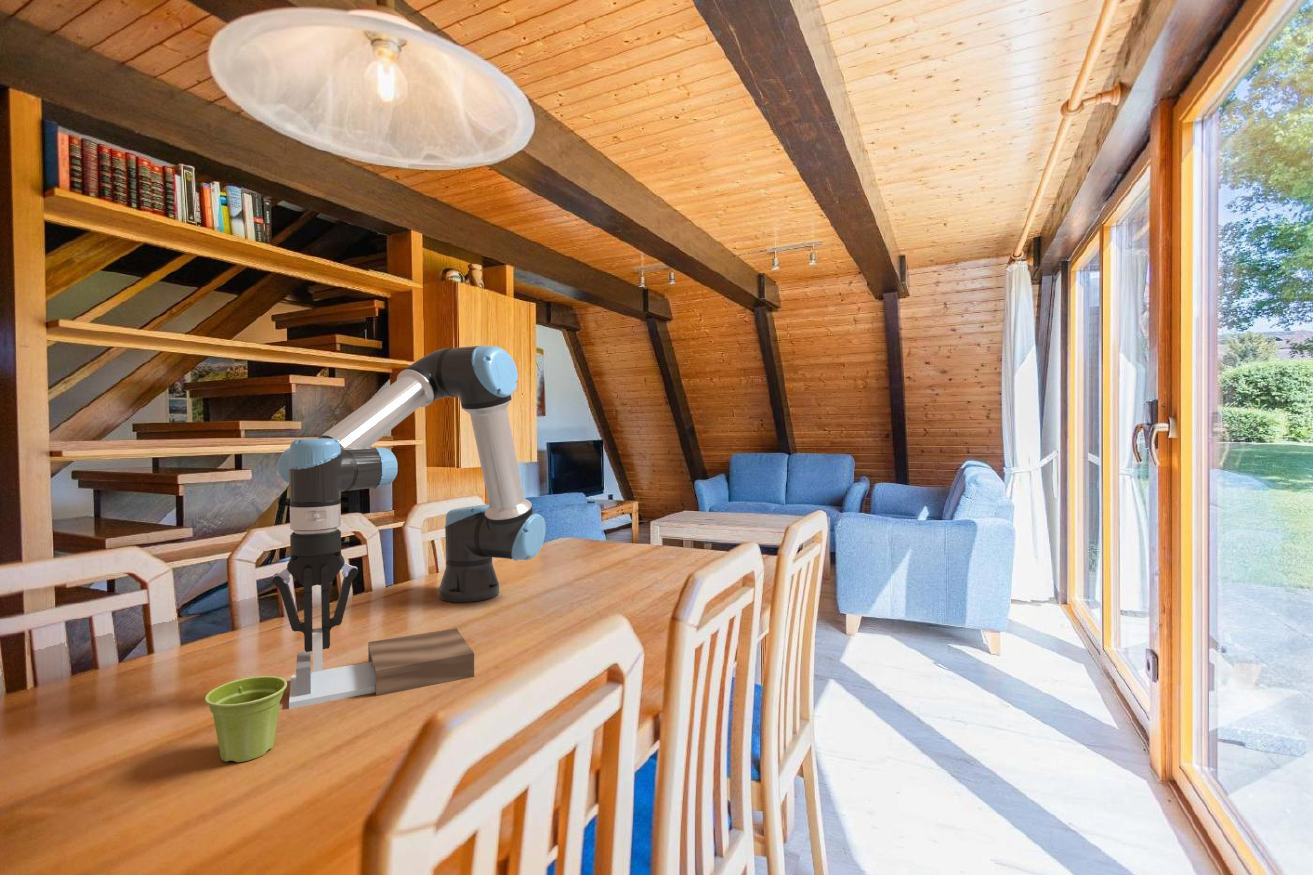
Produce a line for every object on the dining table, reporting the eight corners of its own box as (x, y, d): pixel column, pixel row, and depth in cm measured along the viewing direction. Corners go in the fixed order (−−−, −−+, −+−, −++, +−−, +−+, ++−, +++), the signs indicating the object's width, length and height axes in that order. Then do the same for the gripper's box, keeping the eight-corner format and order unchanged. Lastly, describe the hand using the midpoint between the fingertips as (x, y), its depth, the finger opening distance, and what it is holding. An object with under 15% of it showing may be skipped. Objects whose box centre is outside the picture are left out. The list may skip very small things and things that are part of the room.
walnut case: (368, 664, 116) (368, 642, 116) (456, 649, 124) (456, 628, 124) (376, 695, 103) (375, 670, 103) (474, 676, 111) (474, 653, 111)
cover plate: (291, 683, 109) (290, 649, 109) (434, 658, 121) (434, 627, 120) (289, 712, 98) (288, 674, 98) (446, 681, 110) (446, 647, 110)
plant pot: (277, 727, 92) (276, 670, 92) (296, 752, 86) (295, 689, 85) (200, 751, 86) (199, 689, 86) (213, 779, 79) (212, 711, 79)
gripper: (269, 537, 98) (271, 684, 99) (360, 530, 105) (361, 668, 105) (271, 529, 105) (273, 668, 106) (357, 523, 111) (358, 654, 112)
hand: (317, 668), depth 105 cm, fingers closed
